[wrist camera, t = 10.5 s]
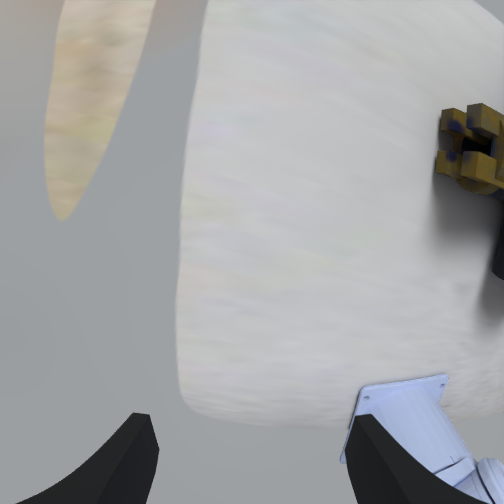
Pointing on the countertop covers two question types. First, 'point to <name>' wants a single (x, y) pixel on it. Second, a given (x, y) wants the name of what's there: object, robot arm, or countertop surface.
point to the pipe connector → (476, 156)
